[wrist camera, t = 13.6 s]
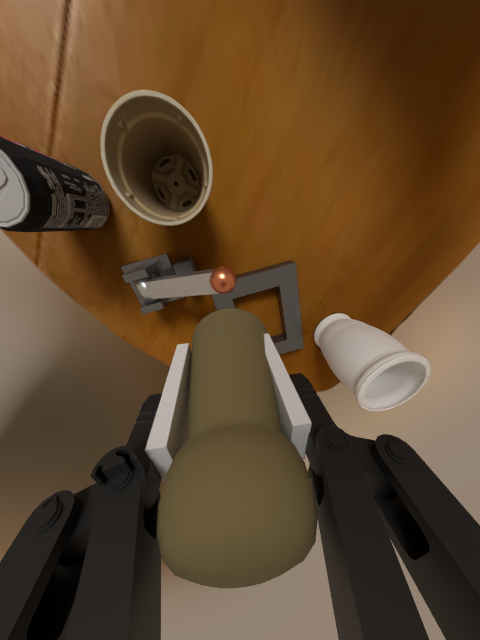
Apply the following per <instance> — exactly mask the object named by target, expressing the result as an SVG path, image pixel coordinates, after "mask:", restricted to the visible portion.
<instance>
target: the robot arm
mask: <svg viewBox="0 0 480 640" xmlns="http://www.w3.org/2000/svg"><path fill="white" fill-rule="evenodd" d="M264 342H265V355H266V358H267V362H268V366H269V369H270V373H271V377H272V380H273V384H274V389H275V394H276V399H277V404H278V410H279V417H280V424H281V431H282V434H283V435H284V436H285V437H286V438H287V439H288V440H290V441H291V442H292V443H293V444H294V445H295V447H296V449H297V450H298V452H299V454H300V456H301V457H302V459H305V454H306V455H307V457H308V460H309V462H310V466H309V470H308V475H309V477H310V479H311V483H312V487H313V490H314V495H315V502H316V509H317V516H318V522H319V529H320V534H321V540H322V546H323V552H324V557H325V563H326V569H327V575H328V580H329V586H330V592H331V598H332V603H333V609H334V615H335V621H336V627H337V632H338V638H339V640H429V638H428V635H427V633H426V630H425V628H424V625H423V622H422V620H421V617H420V615H419V612H418V610H417V607H416V605H415V602H414V599H413V597H412V594H411V592H410V589H409V586H408V584H407V581H406V579H405V576H404V574H403V571H402V569H401V566H400V563H399V561H398V558H397V556H396V553H395V550H394V548H393V545H392V543H391V541H392V542H393V544H394V546H395V548H396V550H397V551H398V553H399V555H400V557H401V559H402V561H403V562H404V564H405V566H406V568H407V570H408V571H409V573H410V575H411V577H412V579H413V580H414V582H415V584H416V586H417V588H418V590H419V591H420V593H421V595H422V596H423V599H424V600H425V602H426V604H427V606H428V608H429V609H430V611H431V613H432V615H433V617H434V618H435V620H436V622H437V624H438V626H439V628H440V629H441V631H442V633H443V635H444V637H445V638H446V640H480V525H479V524H478V523H477V522H476V521H475V520H474V518H473V517H472V516H471V515H470V514H469V513H468V512H467V510H466V509H465V508H464V507H463V506H462V505H461V504H460V502H458V500H457V499H456V498H455V497H454V495H453V494H452V493H451V492H450V491H449V490H448V489H447V487H446V486H445V485H444V484H443V483H442V482H441V481H440V479H439V478H438V477H437V476H436V475H435V474H434V473H433V471H432V470H431V469H430V468H429V467H428V466H427V465H426V463H425V462H424V461H423V460H422V459H421V458H420V456H419V455H418V454H417V453H416V452H415V451H414V450H413V449H412V448H411V447H410V446H409V445H408V444H407V443H406V442H404V441H403V440H401V439H399V438H397V437H394V436H392V435H385V434H383V435H380V436H378V437H377V439H376V441H374V440H370V439H364V438H358V437H354V436H351V435H349V434H347V433H345V432H344V431H343V430H341V429H340V428H338V427H337V426H336V424H335V423H334V422H333V420H332V419H331V417H330V415H329V413H328V412H327V410H326V408H325V407H324V405H323V403H322V402H321V400H320V398H319V397H318V396H317V393H316V392H315V390H314V389H313V386H312V385H311V383H310V381H309V380H308V379H307V378H306V377H305V376H304V375H302V374H301V373H299V374H292V375H288V373H287V371H286V369H285V367H284V365H283V362H282V360H281V358H280V356H279V354H278V352H277V350H276V348H275V346H274V344H273V342H272V340H271V338H270V335H269V333H268V334H264ZM190 373H191V351H190V346H189V343H187V344H179V345H177V348H176V351H175V354H174V357H173V361H172V364H171V367H170V370H169V374H168V377H167V380H166V383H165V387H164V390H163V393H161V394H155V395H150V396H149V397H148V398H147V400H146V401H145V402H144V403H143V405H142V408H141V410H140V413H139V416H138V418H137V420H136V424H135V425H134V428H133V430H132V433H131V435H130V438H129V440H128V443H127V445H126V446H121V447H117V448H115V449H113V450H111V451H109V452H108V453H107V454H106V455H105V456H103V457H102V458H101V459H100V461H99V462H98V463H97V464H96V466H95V467H94V470H93V472H92V474H91V477H92V478H93V479H94V480H95V481H96V482H97V483H95V484H94V485H91V486H89V487H88V488H86V489H84V490H82V491H80V492H78V493H76V494H73V493H72V492H71V491H66V490H63V491H60V492H57V493H55V494H53V495H52V496H50V497H49V498H47V499H46V500H44V501H43V502H42V503H41V504H40V505H39V506H38V507H37V508H36V509H35V510H34V511H33V513H32V514H31V515H30V517H29V518H28V519H27V521H26V522H25V524H24V525H23V527H22V529H21V530H20V532H19V533H18V535H17V536H16V538H15V539H14V541H13V543H12V544H11V546H10V547H9V549H8V551H7V552H6V554H5V555H4V557H3V559H2V560H1V562H0V640H160V639H161V634H160V633H161V553H160V548H159V543H158V538H157V515H158V505H159V501H160V497H161V495H160V492H159V487H160V483H161V479H162V480H163V482H165V478H166V475H167V472H168V470H169V468H170V465H171V463H172V461H173V459H174V457H175V454H176V453H177V452H178V451H179V449H180V448H181V447H182V446H183V445H184V444H185V443H186V442H187V434H188V413H189V393H190ZM389 537H390V538H389ZM390 539H391V540H390Z"/></svg>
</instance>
